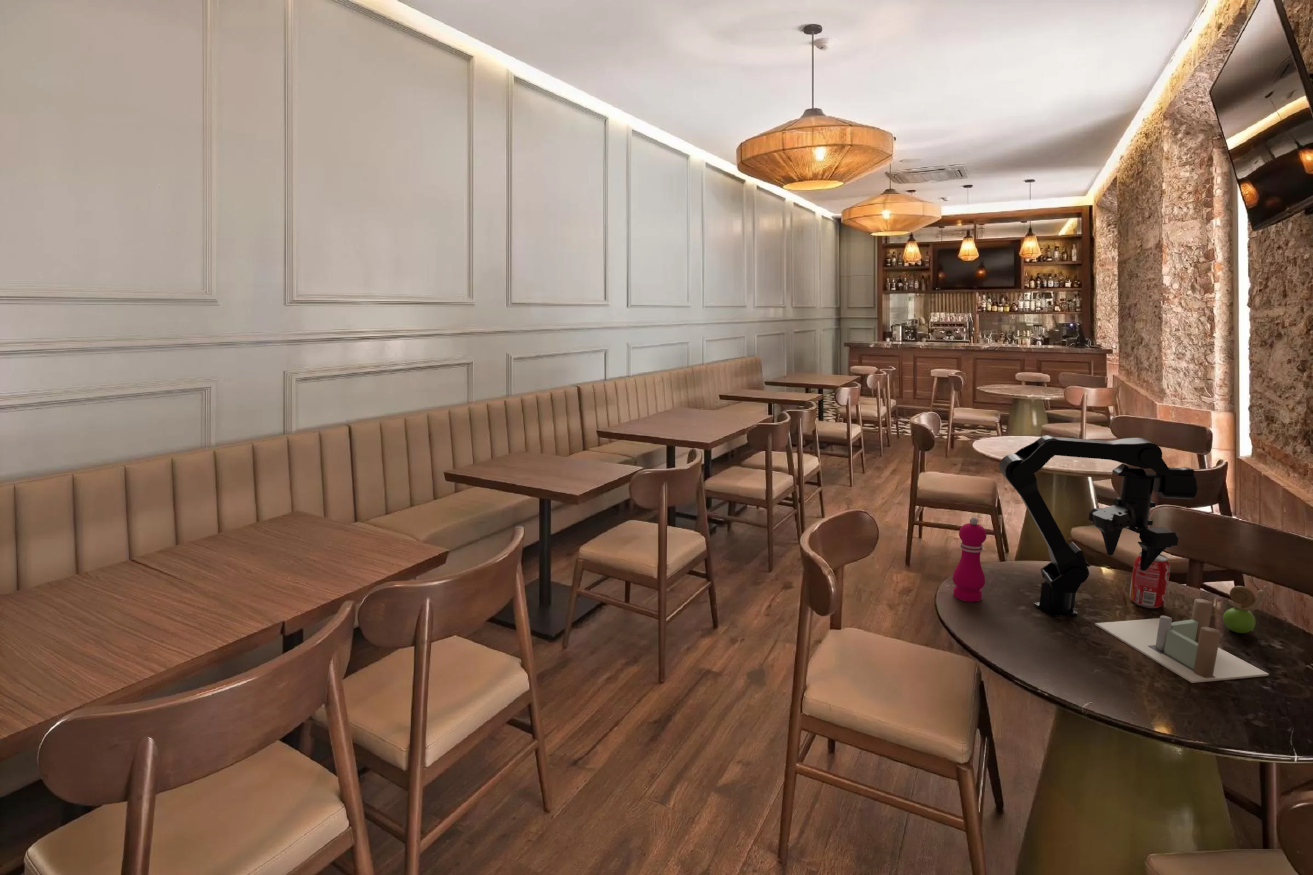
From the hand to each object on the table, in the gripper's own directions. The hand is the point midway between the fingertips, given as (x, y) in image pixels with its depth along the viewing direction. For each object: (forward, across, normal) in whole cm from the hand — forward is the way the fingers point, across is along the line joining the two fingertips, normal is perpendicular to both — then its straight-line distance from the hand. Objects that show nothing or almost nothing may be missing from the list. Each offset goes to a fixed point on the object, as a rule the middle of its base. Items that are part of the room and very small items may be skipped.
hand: (1126, 562), depth 157 cm
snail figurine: (+13, +11, +20) cm, 26 cm away
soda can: (+13, -5, +12) cm, 19 cm away
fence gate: (+12, +15, +2) cm, 19 cm away
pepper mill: (+13, -15, -28) cm, 34 cm away
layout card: (+13, +15, 0) cm, 20 cm away
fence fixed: (+13, +20, -4) cm, 24 cm away
